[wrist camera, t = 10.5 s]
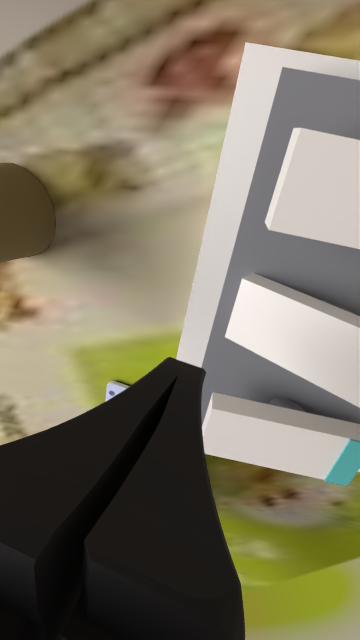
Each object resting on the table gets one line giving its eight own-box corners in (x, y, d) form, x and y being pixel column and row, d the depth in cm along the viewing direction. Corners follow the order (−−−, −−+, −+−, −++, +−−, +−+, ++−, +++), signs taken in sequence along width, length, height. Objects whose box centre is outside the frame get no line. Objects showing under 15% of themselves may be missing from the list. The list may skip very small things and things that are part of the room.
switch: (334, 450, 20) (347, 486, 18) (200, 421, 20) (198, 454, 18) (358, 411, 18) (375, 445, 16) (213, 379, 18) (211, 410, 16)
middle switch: (402, 400, 15) (397, 429, 13) (244, 322, 19) (223, 337, 17) (443, 340, 13) (443, 364, 12) (261, 268, 17) (241, 278, 15)
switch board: (423, 484, 23) (442, 535, 20) (170, 393, 26) (154, 425, 23) (733, 128, 12) (874, 122, 9) (248, 48, 15) (237, 24, 12)
